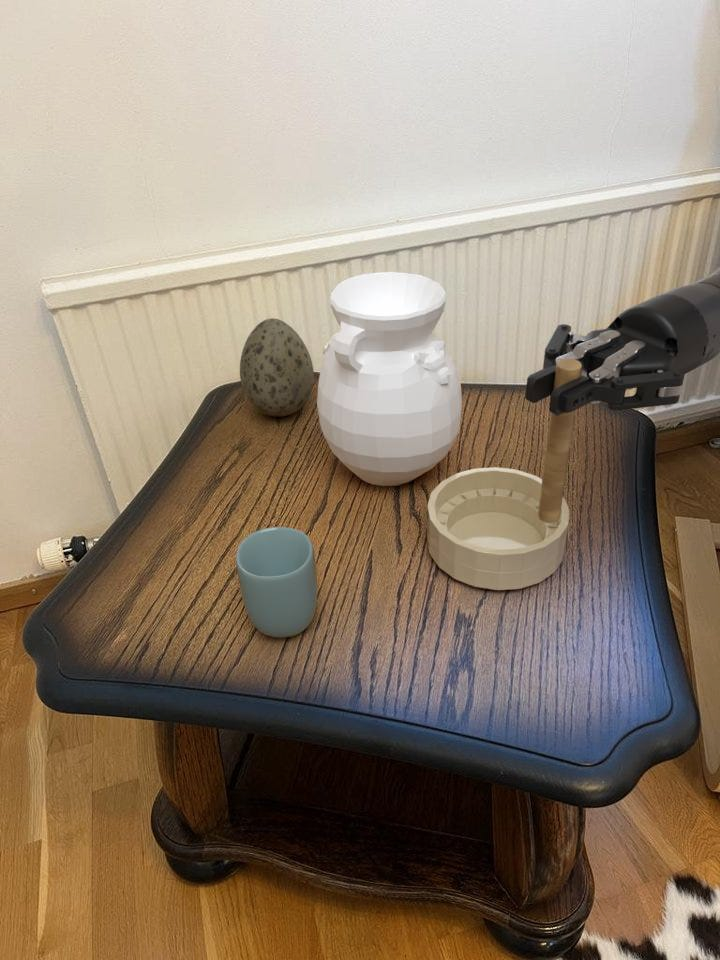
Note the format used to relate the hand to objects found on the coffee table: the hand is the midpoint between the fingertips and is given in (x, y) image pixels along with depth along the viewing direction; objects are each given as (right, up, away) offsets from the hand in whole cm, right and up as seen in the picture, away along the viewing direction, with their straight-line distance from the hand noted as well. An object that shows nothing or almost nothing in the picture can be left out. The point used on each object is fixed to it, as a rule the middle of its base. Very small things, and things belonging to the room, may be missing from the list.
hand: (541, 397), depth 61 cm
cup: (-23, -22, +20) cm, 37 cm away
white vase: (-10, -5, +42) cm, 43 cm away
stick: (+3, -10, +10) cm, 14 cm away
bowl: (+1, -15, +28) cm, 31 cm away
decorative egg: (-27, +4, +55) cm, 61 cm away
